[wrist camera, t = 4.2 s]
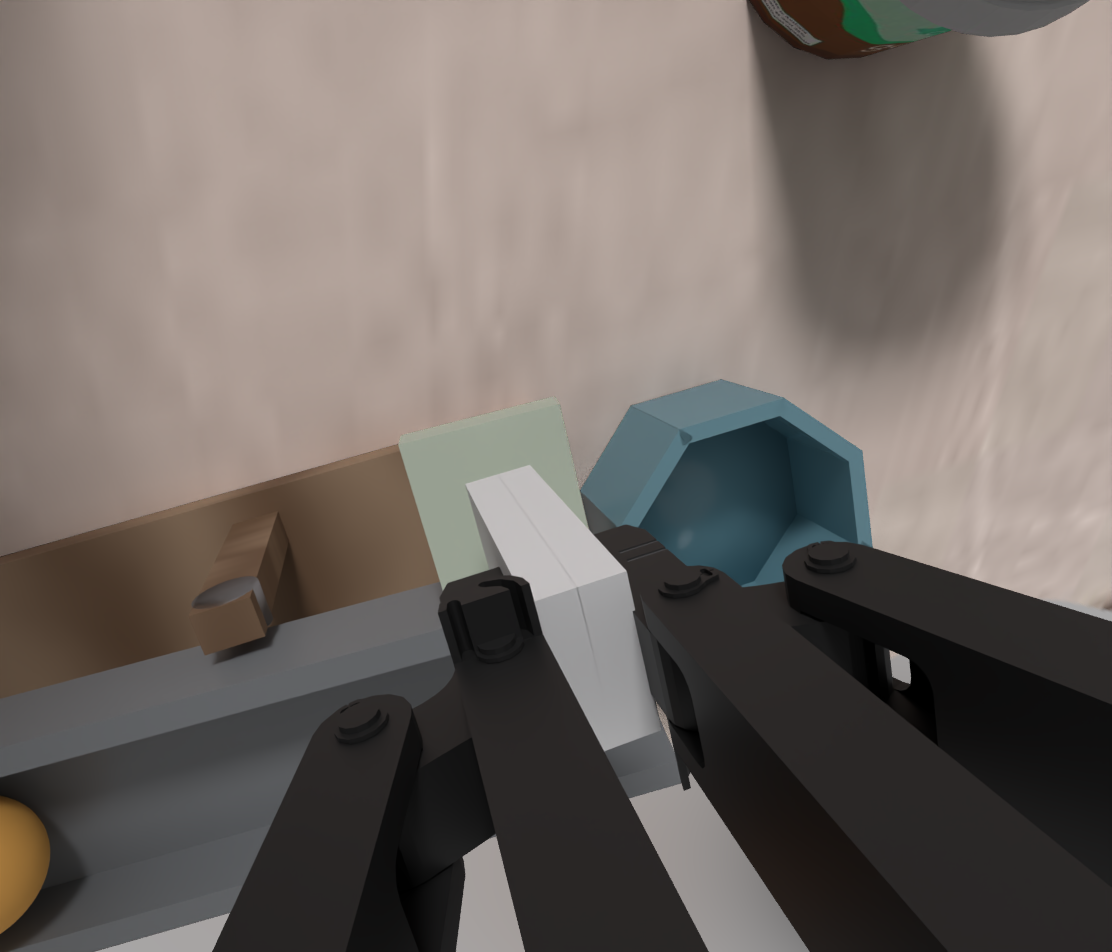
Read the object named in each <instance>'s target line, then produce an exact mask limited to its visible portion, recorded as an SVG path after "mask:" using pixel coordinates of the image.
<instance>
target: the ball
mask: <svg viewBox="0 0 1112 952" xmlns="http://www.w3.org/2000/svg"><path fill="white" fill-rule="evenodd" d="M49 862H50V842H49V838H48V835H47V831H46V829H45V827H44V825H43V823H42V822H41V820H40V819H39V817H38V816H37V815H36V814H35V813H34V812H33V811H32V810H31V809H30V808H29V807H27V806H26V805H24V804H22V803H21V802H19V801H16V800H14V799H11V798H8V797H4V796H0V934H1V933H2V932H4V931H5V930H6V929H8V928H9V927H10V926H11V925H12V924H14V923H15V922H16V921H17V920H18V919H19V918H20V917H21V916H22V915H23V914H24V913H25V911H26V910H27V909H28V908H29V907H30V905H31V904H32V903H33V901H34V900H35V898H36V897H37V895H38V893H39V891H40V890H41V887H42V885H43V883H44V880H45V878H46V875H47V872H48V867H49Z"/></svg>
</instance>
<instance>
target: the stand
mask: <svg viewBox="0 0 1112 952" xmlns="http://www.w3.org/2000/svg"><path fill="white" fill-rule="evenodd" d="M437 582H440V580H439V577H438V573H437V570H436V567H435V564H434V560H433V557H432V554H431V550H430V547H429V544H428V541H427V537H426V534H425V531H424V528H423V524H422V521H421V518H420V514H419V511H418V508H417V505H416V501H415V498H414V495H413V492H412V488H411V485H410V482H409V478H408V475H407V472H406V469H405V465H404V462H403V459H402V456H401V452H400V449H399V446H398V444H397V445H394V446H390V447H387V448H383V449H379V450H376V451H372V452H369V453H365V454H362V455H358V456H355V457H351V458H348V459H344V460H341V461H337V462H334V463H330V464H327V465H323V466H319V467H316V468H312V469H309V470H305V471H302V472H298V473H295V474H291V475H288V476H284V477H281V478H277V479H274V480H270V481H267V482H263V483H259V484H256V485H252V486H249V487H245V488H242V489H238V490H235V491H231V492H228V493H224V494H221V495H217V496H214V497H210V498H207V499H203V500H199V501H196V502H192V503H189V504H185V505H182V506H178V507H175V508H171V509H168V510H164V511H161V512H157V513H154V514H150V515H147V516H143V517H139V518H136V519H132V520H129V521H125V522H122V523H118V524H115V525H111V526H108V527H104V528H101V529H97V530H94V531H90V532H87V533H83V534H79V535H76V536H72V537H69V538H65V539H62V540H58V541H55V542H51V543H48V544H44V545H41V546H37V547H34V548H30V549H27V550H23V551H19V552H16V553H12V554H9V555H5V556H2V557H0V699H1V698H5V697H9V696H13V695H16V694H20V693H24V692H28V691H31V690H35V689H39V688H43V687H46V686H50V685H54V684H58V683H61V682H65V681H69V680H73V679H76V678H80V677H84V676H88V675H92V674H95V673H99V672H103V671H107V670H110V669H114V668H118V667H122V666H125V665H129V664H133V663H137V662H140V661H144V660H148V659H152V658H155V657H159V656H163V655H167V654H170V653H174V652H178V651H182V650H185V649H189V648H193V647H197V646H201V648H202V650H203V653H204V655H208V654H211V653H215V652H218V651H221V650H224V649H227V648H230V647H233V646H237V645H240V644H243V643H246V642H249V641H252V640H255V639H259V638H262V637H265V636H266V632H267V628H268V627H272V626H276V625H279V624H283V623H287V622H291V621H294V620H298V619H302V618H306V617H309V616H313V615H317V614H321V613H324V612H328V611H332V610H336V609H339V608H343V607H347V606H351V605H354V604H358V603H362V602H366V601H370V600H373V599H377V598H381V597H385V596H388V595H392V594H396V593H400V592H403V591H407V590H411V589H415V588H418V587H422V586H426V585H430V584H433V583H437Z"/></svg>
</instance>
